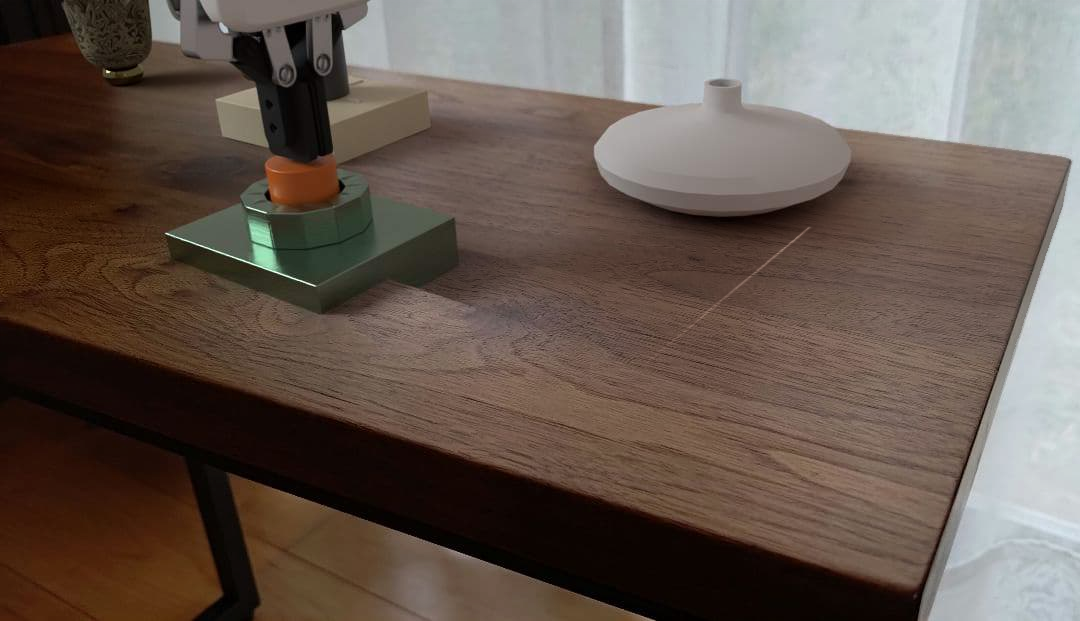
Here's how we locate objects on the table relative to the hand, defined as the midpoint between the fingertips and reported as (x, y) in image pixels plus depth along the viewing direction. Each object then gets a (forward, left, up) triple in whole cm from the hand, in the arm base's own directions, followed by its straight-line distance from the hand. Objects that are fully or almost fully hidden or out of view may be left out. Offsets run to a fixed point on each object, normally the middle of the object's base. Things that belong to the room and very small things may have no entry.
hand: (301, 153), depth 52 cm
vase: (+13, +22, -7) cm, 26 cm away
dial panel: (-19, +18, -7) cm, 27 cm away
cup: (-48, +19, -7) cm, 52 cm away
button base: (0, 0, -7) cm, 7 cm away
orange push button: (0, 0, -2) cm, 2 cm away
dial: (-19, +18, -4) cm, 27 cm away
